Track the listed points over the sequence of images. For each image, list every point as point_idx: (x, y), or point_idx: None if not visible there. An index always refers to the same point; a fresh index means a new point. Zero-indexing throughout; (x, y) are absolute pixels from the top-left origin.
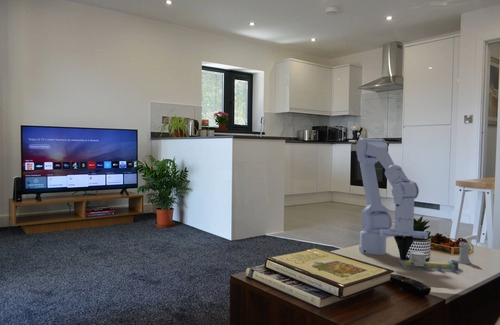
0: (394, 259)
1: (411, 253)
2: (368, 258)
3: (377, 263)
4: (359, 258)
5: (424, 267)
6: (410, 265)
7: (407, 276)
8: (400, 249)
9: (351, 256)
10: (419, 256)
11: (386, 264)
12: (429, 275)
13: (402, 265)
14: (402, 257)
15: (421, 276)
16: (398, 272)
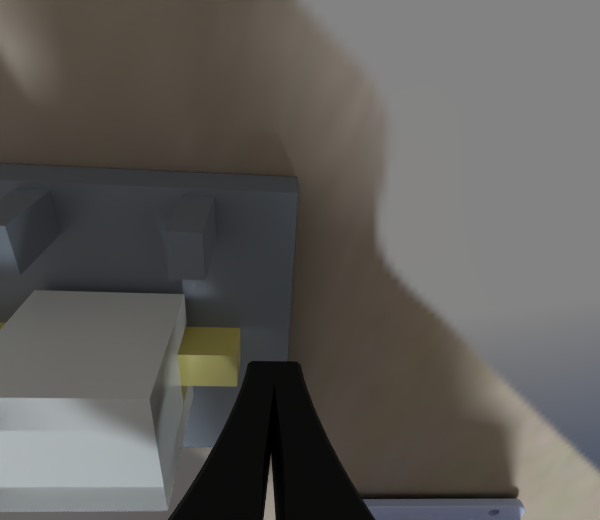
0: None
1: (158, 444)
2: (480, 478)
3: (464, 390)
4: (555, 467)
5: (43, 222)
6: (198, 322)
7: (306, 20)
8: (337, 468)
9: (592, 492)
10: (54, 378)
11: (393, 381)
12: (19, 124)
13: (287, 306)
14: (289, 377)
15: (121, 59)
16: (366, 168)
